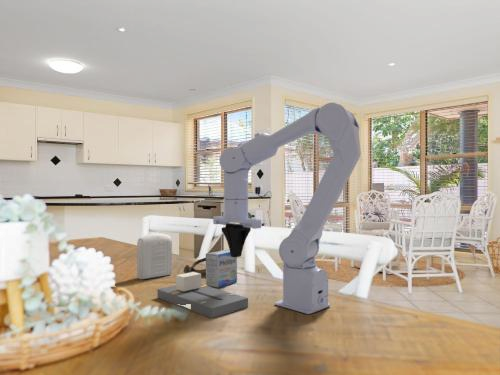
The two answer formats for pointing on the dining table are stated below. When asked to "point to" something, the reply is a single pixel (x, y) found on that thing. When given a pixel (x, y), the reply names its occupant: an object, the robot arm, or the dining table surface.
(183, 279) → the fader
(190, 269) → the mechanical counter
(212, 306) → the board
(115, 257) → the dining table surface
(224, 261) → the medicine box
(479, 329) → the dining table surface
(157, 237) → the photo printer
